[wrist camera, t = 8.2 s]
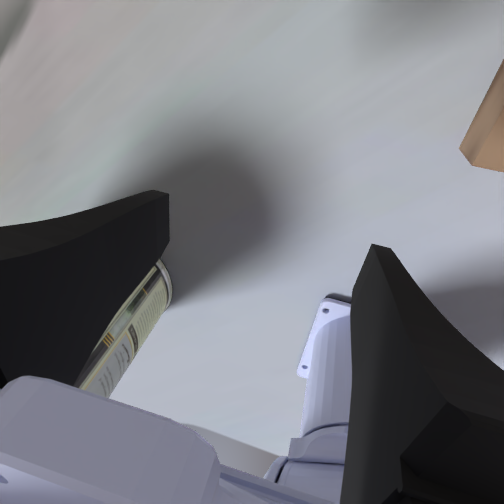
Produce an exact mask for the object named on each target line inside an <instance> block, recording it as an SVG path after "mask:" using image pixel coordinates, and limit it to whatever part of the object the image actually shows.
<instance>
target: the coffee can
mask: <svg viewBox="0 0 504 504" xmlns="http://www.w3.org/2000/svg"><path fill="white" fill-rule="evenodd" d="M172 291H173V289H172V284H171V280H170V277H169V274H168V271H167V270H166V268H165V266H164V264H163V263H162V261H161V260H160V259H159V260H158V262H157V263H156V264H155V265H154V267H153V268H152V269H151V271H150V272H149V273H148V274H147V276H146V277H145V278H144V279H143V280H142V282H141V283H140V284H139V285H138V287H137V288H136V289H135V290H134V292H133V293H132V294H131V295H130V296H129V298H128V299H127V300H126V301H125V303H124V304H123V305H122V306H121V308H120V309H119V311H118V312H117V313H116V315H115V316H114V318H113V319H112V321H111V322H110V324H109V326H108V327H107V329H106V330H105V332H104V333H103V335H102V337H101V338H100V340H99V342H98V343H97V345H96V347H95V348H94V350H93V352H92V353H91V355H90V357H89V358H88V360H87V362H86V364H85V365H84V367H83V369H82V371H81V373H80V374H79V376H78V378H77V380H76V382H75V383H74V385H73V387H76V388H79V389H82V390H85V391H88V392H91V393H94V394H97V395H100V396H103V397H106V398H109V396H110V395H111V393H112V392H113V390H114V388H115V387H116V385H117V384H118V382H119V381H120V379H121V377H122V376H123V374H124V373H125V371H126V370H127V368H128V366H129V365H130V364H131V362H132V360H133V359H134V357H135V356H136V354H137V352H138V351H139V349H140V348H141V346H142V345H143V343H144V342H145V340H146V338H147V337H148V335H149V334H150V332H151V331H152V329H153V327H154V326H155V324H156V323H157V321H158V320H159V318H160V317H161V315H162V314H163V312H164V311H165V310H166V309H167V307H168V306H169V304H170V302H171V298H172Z"/></svg>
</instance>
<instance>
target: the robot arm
mask: <svg viewBox="0 0 504 504" xmlns="http://www.w3.org/2000/svg"><path fill="white" fill-rule="evenodd" d="M168 243H169V194H168V193H164V192H159V191H155V190H150V191H146V192H142V193H139V194H136V195H133V196H130V197H127V198H124V199H121V200H118V201H115V202H111V203H108V204H105V205H102V206H99V207H95V208H92V209H89V210H85V211H82V212H78V213H75V214H71V215H67V216H63V217H58V218H53V219H48V220H43V221H38V222H32V223H25V224H17V225H10V226H3V227H0V504H504V371H503V370H502V369H501V368H500V367H498V366H497V365H496V364H495V363H493V362H492V361H491V360H490V359H489V358H488V357H486V356H485V355H484V354H483V353H482V352H480V351H479V350H478V349H477V348H476V347H475V346H473V345H472V344H471V343H470V342H469V341H468V340H467V339H466V338H465V337H464V336H463V335H462V334H461V333H460V332H459V331H458V330H457V329H456V328H455V327H454V326H453V325H452V324H451V323H450V322H449V321H448V320H447V319H446V318H445V317H444V316H443V315H442V314H441V313H440V312H439V311H438V310H437V308H436V307H435V306H434V305H433V304H432V303H431V301H430V300H429V299H428V298H427V297H426V295H425V294H424V293H423V292H422V290H421V289H420V288H419V287H418V285H417V284H416V283H415V281H414V280H413V279H412V277H411V276H410V274H409V273H408V272H407V270H406V269H405V267H404V266H403V265H402V263H401V262H400V260H399V259H398V257H397V256H396V255H395V253H394V252H393V251H392V249H391V248H387V247H383V246H379V245H375V244H372V245H371V247H370V249H369V252H368V254H367V256H366V259H365V261H364V264H363V266H362V268H361V271H360V273H359V276H358V278H357V280H356V283H355V285H354V287H353V291H352V300H351V304H349V303H346V302H342V301H338V300H334V299H331V298H324V299H323V300H322V301H321V304H320V306H319V309H318V312H317V315H316V318H315V320H314V323H313V326H312V329H311V332H310V335H309V337H308V340H307V343H306V346H305V349H304V351H303V354H302V357H301V360H300V363H299V366H298V368H297V375H299V376H300V377H303V378H306V379H307V385H306V393H305V400H304V407H303V415H302V422H301V429H300V438H291V441H290V448H289V454H288V457H287V456H281V457H278V458H277V459H276V460H275V461H274V462H273V463H272V465H271V466H270V469H269V470H268V471H267V473H266V474H265V476H264V478H260V477H257V476H254V475H251V474H249V473H246V472H242V471H240V470H237V469H234V468H231V467H228V466H225V465H222V464H220V462H219V460H218V457H217V454H216V451H215V449H214V447H213V446H212V445H211V444H210V443H208V442H207V441H206V440H205V439H204V438H203V437H202V436H201V435H200V434H198V433H197V432H196V431H195V430H193V429H191V428H188V427H186V426H184V425H182V424H180V423H178V422H176V421H174V420H172V419H169V418H166V417H163V416H160V415H157V414H154V413H151V412H148V411H145V410H142V409H139V408H136V407H133V406H130V405H127V404H124V403H121V402H118V401H115V400H112V399H109V398H106V397H103V396H100V395H97V394H94V393H91V392H88V391H85V390H82V389H79V388H76V387H73V385H74V383H75V382H76V380H77V378H78V376H79V374H80V373H81V371H82V369H83V367H84V365H85V364H86V362H87V360H88V358H89V357H90V355H91V353H92V352H93V350H94V348H95V347H96V345H97V343H98V342H99V340H100V338H101V337H102V335H103V333H104V332H105V330H106V329H107V327H108V326H109V324H110V322H111V321H112V319H113V318H114V316H115V315H116V313H117V312H118V311H119V309H120V308H121V306H122V305H123V304H124V303H125V301H126V300H127V299H128V298H129V296H130V295H131V294H132V293H133V292H134V290H135V289H136V288H137V287H138V285H139V284H140V283H141V282H142V280H143V279H144V278H145V277H146V276H147V274H148V273H149V272H150V271H151V269H152V268H153V267H154V265H155V264H156V263H157V262H158V260H159V258H160V257H161V255H162V253H163V252H164V250H165V248H166V246H167V244H168ZM324 308H327V309H329V310H325V309H324Z"/></svg>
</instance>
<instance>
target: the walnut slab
mask: <svg viewBox="0 0 504 504" xmlns="http://www.w3.org/2000/svg"><path fill="white" fill-rule="evenodd" d="M459 149H460V151H461V152H462V153H463V155H464V156H465V157H466V158H467V160H468V161H469V162H470V164H471V165H472V166H476V167H481V168H486V169H490V170H495V171H500V172H504V60H503V62H502V64H501V65H500V67H499V69H498V71H497V73H496V75H495V77H494V79H493V81H492V83H491V85H490V87H489V89H488V91H487V93H486V95H485V97H484V99H483V101H482V103H481V105H480V107H479V109H478V111H477V113H476V115H475V117H474V119H473V121H472V123H471V125H470V127H469V129H468V131H467V133H466V135H465V137H464V139H463V141H462V143H461V145H460V147H459Z"/></svg>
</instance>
